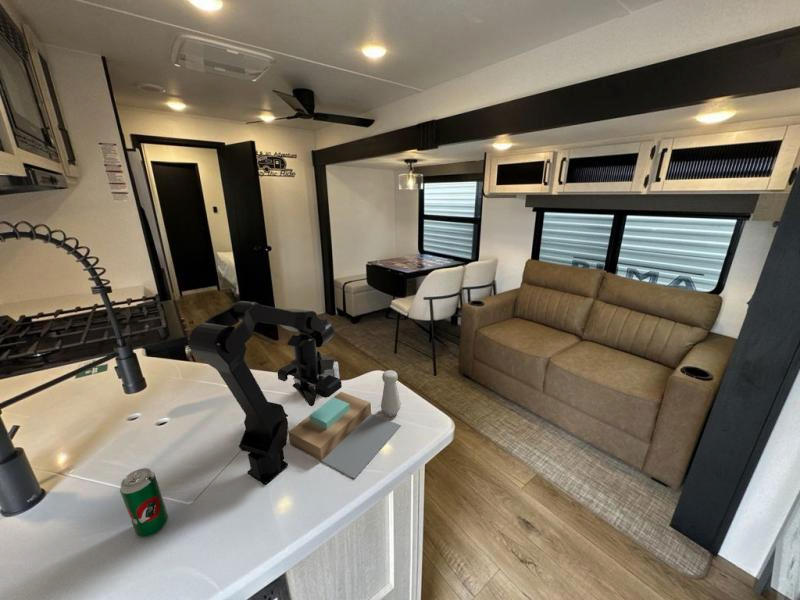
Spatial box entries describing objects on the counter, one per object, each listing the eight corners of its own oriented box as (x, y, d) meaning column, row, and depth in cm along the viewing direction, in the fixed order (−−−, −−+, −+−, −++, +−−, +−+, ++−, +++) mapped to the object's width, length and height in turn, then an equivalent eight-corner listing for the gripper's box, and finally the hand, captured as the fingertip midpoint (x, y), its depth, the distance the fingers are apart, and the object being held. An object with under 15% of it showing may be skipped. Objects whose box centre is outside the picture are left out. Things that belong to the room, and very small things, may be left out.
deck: (321, 461, 76) (320, 448, 74) (290, 444, 81) (288, 431, 80) (371, 414, 92) (370, 402, 91) (342, 402, 97) (341, 391, 96)
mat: (354, 479, 71) (354, 478, 71) (321, 461, 76) (321, 460, 76) (400, 426, 87) (400, 425, 87) (371, 414, 92) (371, 413, 92)
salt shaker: (403, 415, 91) (403, 375, 87) (385, 420, 89) (383, 380, 85) (396, 404, 96) (395, 365, 92) (378, 408, 94) (376, 370, 90)
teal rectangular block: (327, 429, 80) (326, 422, 80) (310, 421, 83) (309, 415, 83) (349, 409, 88) (349, 403, 87) (333, 403, 91) (333, 397, 90)
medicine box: (340, 384, 107) (338, 361, 105) (336, 391, 103) (334, 368, 100) (317, 383, 108) (315, 360, 105) (313, 390, 104) (310, 367, 101)
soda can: (174, 513, 64) (160, 465, 60) (157, 538, 59) (140, 489, 55) (149, 514, 64) (132, 466, 60) (129, 540, 59) (110, 490, 55)
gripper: (353, 350, 86) (356, 400, 91) (303, 336, 95) (309, 382, 100) (324, 369, 77) (329, 422, 82) (272, 351, 86) (280, 401, 91)
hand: (312, 405), depth 89 cm, fingers closed
